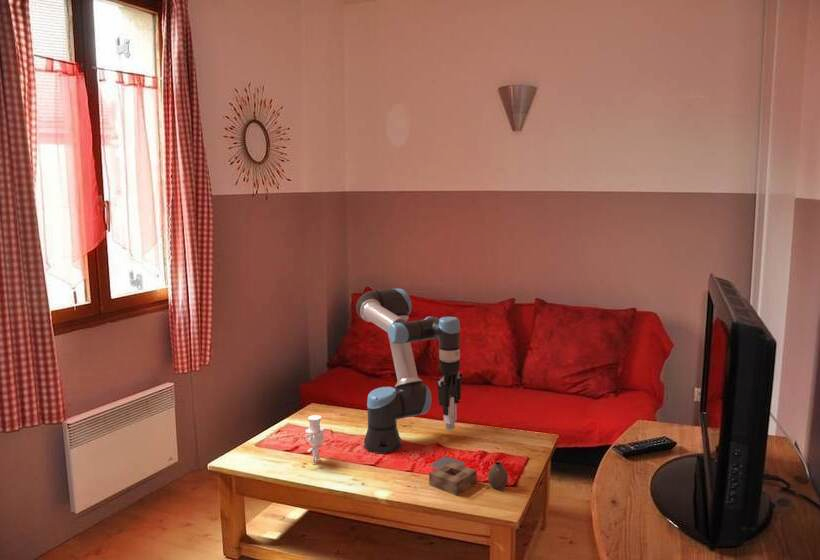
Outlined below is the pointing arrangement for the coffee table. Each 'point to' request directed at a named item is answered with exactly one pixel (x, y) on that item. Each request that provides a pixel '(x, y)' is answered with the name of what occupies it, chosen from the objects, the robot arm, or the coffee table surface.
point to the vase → (498, 476)
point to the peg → (451, 403)
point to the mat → (444, 461)
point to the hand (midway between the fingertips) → (450, 421)
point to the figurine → (315, 435)
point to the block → (453, 478)
